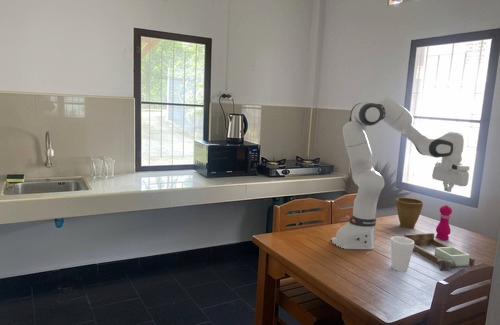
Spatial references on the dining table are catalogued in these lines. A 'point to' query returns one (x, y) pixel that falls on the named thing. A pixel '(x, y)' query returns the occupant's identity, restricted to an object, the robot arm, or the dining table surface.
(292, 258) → the dining table surface
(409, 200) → the plant pot
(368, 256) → the dining table surface
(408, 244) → the foam cup
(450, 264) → the bay
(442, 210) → the pepper mill
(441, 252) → the crate
